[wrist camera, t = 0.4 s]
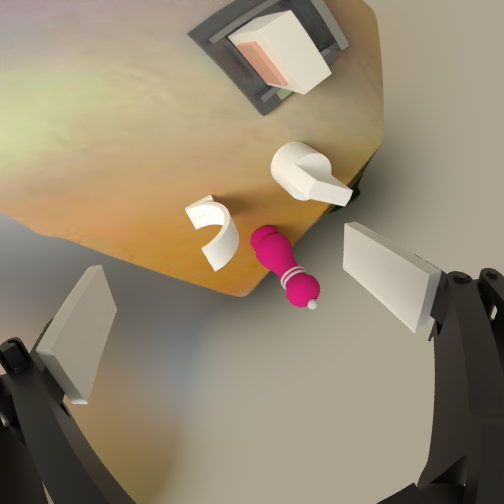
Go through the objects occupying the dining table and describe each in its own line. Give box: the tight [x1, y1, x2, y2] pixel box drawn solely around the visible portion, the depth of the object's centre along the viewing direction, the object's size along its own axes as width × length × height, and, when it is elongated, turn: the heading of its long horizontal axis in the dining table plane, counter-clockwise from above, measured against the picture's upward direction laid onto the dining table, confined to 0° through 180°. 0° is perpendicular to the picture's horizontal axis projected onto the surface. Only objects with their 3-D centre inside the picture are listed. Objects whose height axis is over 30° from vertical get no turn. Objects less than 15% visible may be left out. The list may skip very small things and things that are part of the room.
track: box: [187, 0, 349, 116], centre depth 29 cm, size 18×18×6 cm
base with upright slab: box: [271, 142, 352, 206], centre depth 44 cm, size 9×9×12 cm
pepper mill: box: [251, 225, 320, 309], centre depth 50 cm, size 7×7×20 cm
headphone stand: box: [185, 195, 239, 271], centre depth 43 cm, size 5×6×12 cm
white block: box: [228, 10, 332, 94], centre depth 27 cm, size 10×6×10 cm, turn 38°
